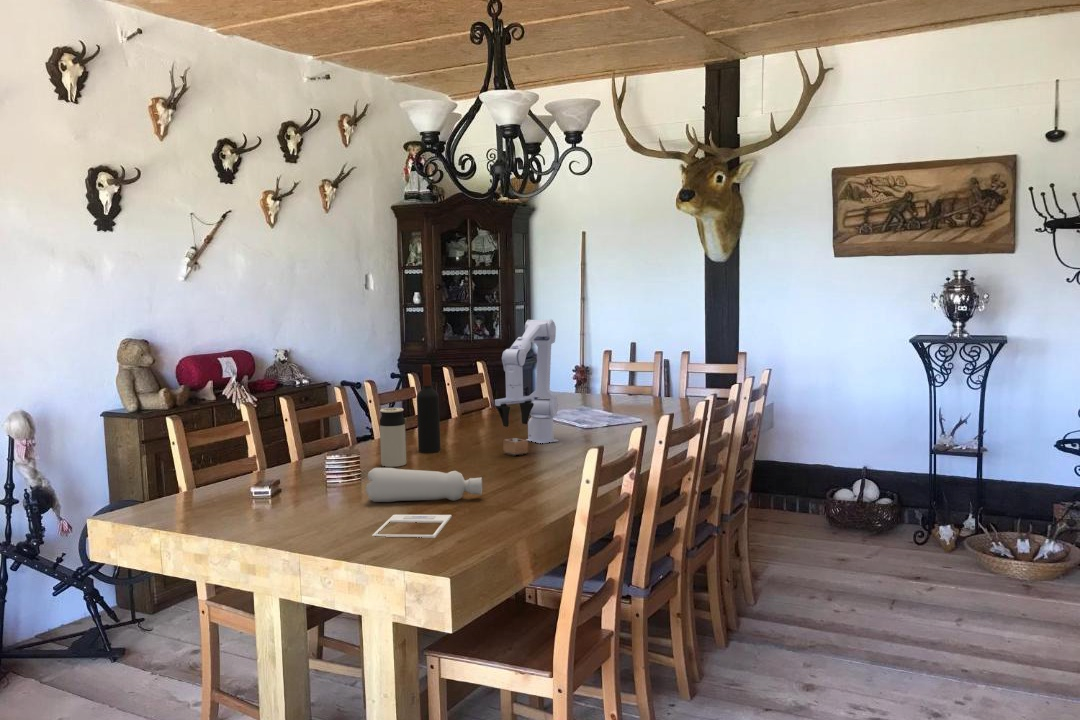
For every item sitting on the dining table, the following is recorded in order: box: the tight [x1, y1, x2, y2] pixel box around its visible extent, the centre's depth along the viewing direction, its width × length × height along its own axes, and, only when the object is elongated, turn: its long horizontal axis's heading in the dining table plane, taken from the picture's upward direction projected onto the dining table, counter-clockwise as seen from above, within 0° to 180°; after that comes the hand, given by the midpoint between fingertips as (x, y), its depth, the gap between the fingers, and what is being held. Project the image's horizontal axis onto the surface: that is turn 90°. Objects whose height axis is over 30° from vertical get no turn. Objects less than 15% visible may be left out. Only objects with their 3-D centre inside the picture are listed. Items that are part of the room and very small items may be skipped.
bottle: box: [365, 467, 483, 503], centre depth 233 cm, size 9×9×30 cm
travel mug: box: [379, 407, 407, 468], centre depth 280 cm, size 8×8×18 cm
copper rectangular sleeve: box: [502, 437, 529, 454], centre depth 293 cm, size 7×5×4 cm
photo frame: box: [371, 514, 453, 539], centre depth 208 cm, size 15×1×18 cm
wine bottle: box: [416, 363, 441, 454], centre depth 302 cm, size 8×8×30 cm
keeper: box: [504, 438, 527, 457], centre depth 293 cm, size 5×5×5 cm
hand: (515, 425), depth 293 cm, fingers open, 7 cm apart
